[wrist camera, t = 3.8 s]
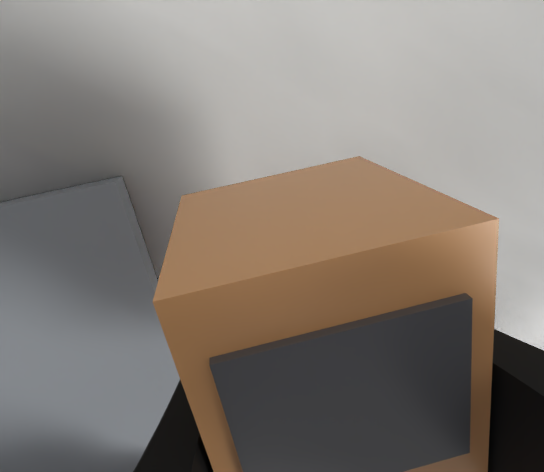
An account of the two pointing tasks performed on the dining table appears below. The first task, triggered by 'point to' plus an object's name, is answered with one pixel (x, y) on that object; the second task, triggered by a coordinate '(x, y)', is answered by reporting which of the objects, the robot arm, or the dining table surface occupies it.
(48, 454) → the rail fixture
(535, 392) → the robot arm
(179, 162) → the dining table surface
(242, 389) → the block
